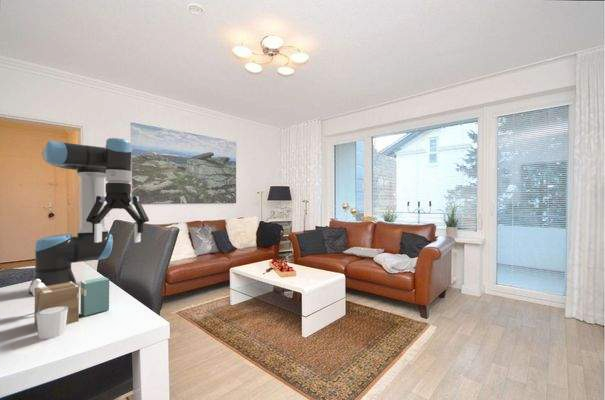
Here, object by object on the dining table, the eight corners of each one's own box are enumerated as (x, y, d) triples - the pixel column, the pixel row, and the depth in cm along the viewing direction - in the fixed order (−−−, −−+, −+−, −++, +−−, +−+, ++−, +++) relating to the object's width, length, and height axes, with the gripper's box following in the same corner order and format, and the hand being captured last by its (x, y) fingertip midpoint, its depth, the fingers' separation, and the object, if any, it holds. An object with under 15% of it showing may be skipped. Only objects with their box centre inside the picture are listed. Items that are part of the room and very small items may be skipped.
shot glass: (49, 329, 82) (49, 305, 82) (74, 328, 82) (74, 305, 82) (28, 340, 75) (28, 315, 75) (55, 339, 75) (55, 314, 75)
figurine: (46, 315, 91) (47, 279, 91) (29, 319, 88) (29, 282, 89) (46, 309, 96) (46, 275, 96) (29, 312, 93) (29, 277, 94)
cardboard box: (34, 322, 86) (34, 287, 86) (71, 313, 93) (71, 281, 93) (40, 331, 80) (40, 293, 80) (78, 320, 87) (79, 286, 87)
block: (80, 312, 93) (80, 281, 93) (104, 306, 99) (104, 276, 99) (84, 316, 90) (84, 283, 90) (109, 309, 96) (109, 279, 96)
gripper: (73, 181, 92) (73, 243, 92) (149, 182, 94) (148, 243, 94) (89, 182, 100) (89, 240, 100) (159, 183, 101) (158, 240, 101)
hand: (117, 242), depth 97 cm, fingers open, 13 cm apart
